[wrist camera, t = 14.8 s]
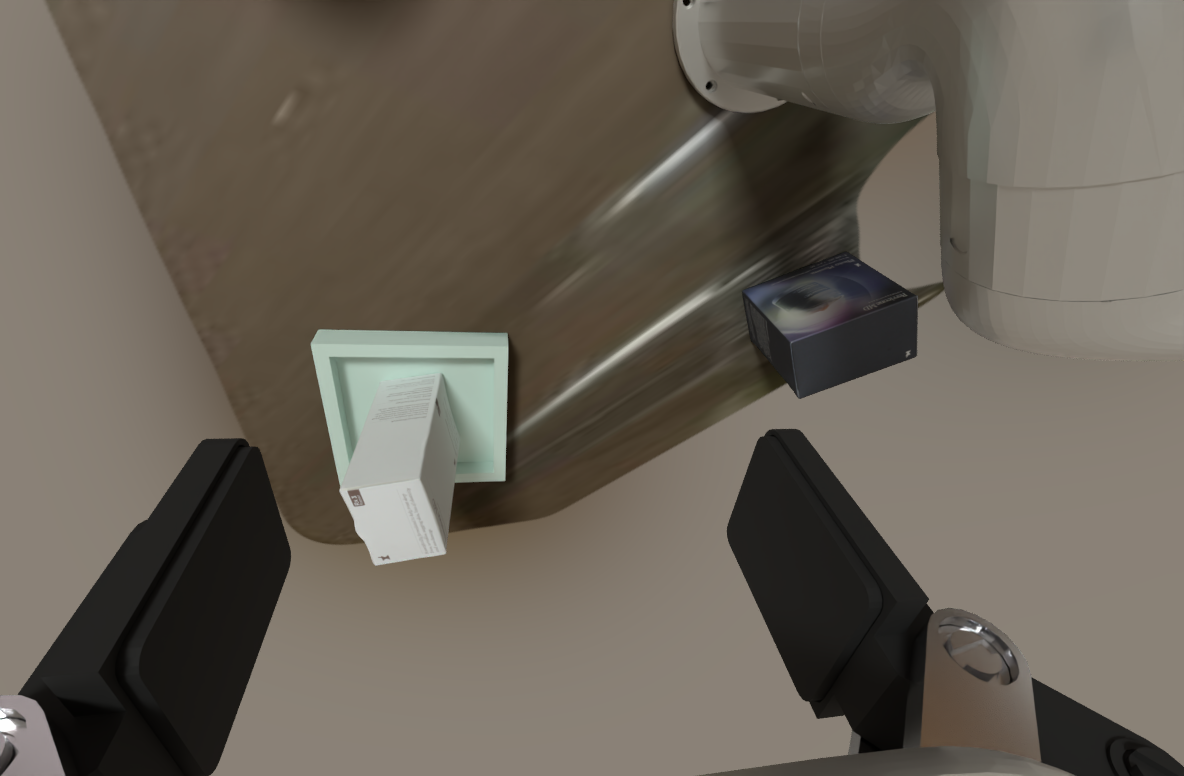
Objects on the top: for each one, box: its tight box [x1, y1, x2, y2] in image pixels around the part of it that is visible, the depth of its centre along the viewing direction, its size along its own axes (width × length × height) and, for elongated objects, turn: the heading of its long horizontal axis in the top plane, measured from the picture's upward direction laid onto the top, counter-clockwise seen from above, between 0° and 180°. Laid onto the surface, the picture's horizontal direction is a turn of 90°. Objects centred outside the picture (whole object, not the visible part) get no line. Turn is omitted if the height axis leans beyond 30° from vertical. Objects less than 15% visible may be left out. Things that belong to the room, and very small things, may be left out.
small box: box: [742, 252, 918, 399], centre depth 48 cm, size 11×6×10 cm, turn 109°
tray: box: [311, 330, 508, 486], centre depth 51 cm, size 16×16×2 cm
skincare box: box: [339, 373, 460, 566], centre depth 45 cm, size 8×6×15 cm
